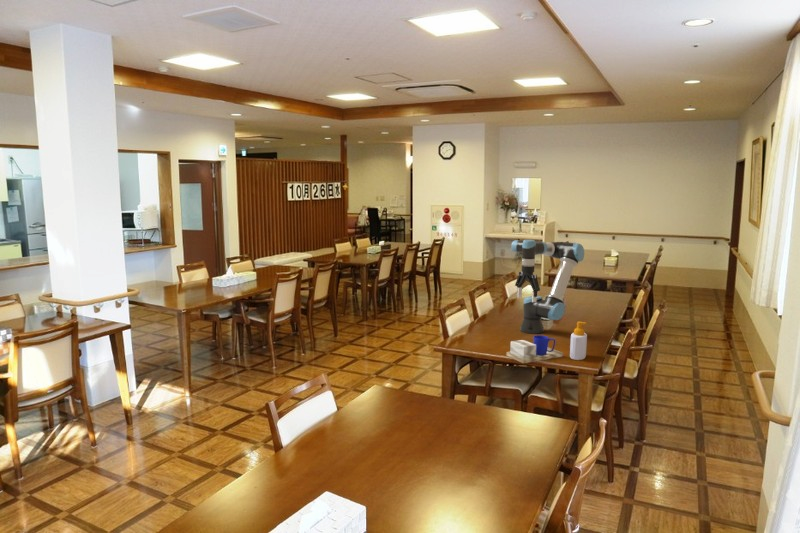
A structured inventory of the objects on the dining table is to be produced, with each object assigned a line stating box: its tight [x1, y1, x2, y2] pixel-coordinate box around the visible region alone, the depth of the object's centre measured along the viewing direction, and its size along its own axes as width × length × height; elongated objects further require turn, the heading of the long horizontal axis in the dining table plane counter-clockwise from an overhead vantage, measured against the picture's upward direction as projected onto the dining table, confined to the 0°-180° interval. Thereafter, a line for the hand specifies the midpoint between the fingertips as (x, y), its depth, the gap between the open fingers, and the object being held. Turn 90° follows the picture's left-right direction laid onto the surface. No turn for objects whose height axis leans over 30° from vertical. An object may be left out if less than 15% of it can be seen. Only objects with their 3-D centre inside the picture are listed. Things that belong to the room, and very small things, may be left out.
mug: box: [532, 334, 556, 355], centre depth 312 cm, size 8×12×10 cm
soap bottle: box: [569, 321, 588, 361], centre depth 309 cm, size 13×8×20 cm, turn 148°
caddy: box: [505, 339, 564, 364], centre depth 311 cm, size 28×15×9 cm, turn 117°
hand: (526, 300), depth 334 cm, fingers open, 13 cm apart
